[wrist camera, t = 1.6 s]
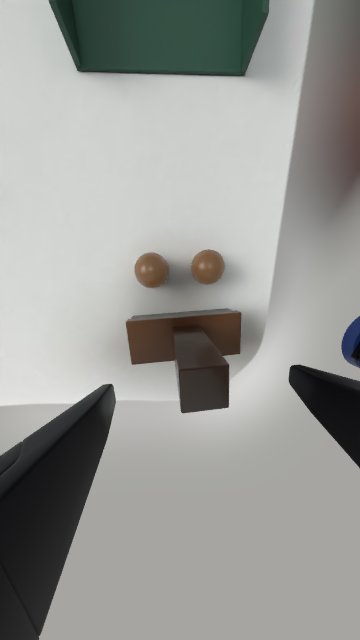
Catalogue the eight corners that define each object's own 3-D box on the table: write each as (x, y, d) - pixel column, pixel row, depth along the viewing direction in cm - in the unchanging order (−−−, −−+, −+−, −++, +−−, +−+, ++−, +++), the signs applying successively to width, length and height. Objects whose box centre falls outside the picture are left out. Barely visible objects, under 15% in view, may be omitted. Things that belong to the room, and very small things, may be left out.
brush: (228, 306, 18) (309, 340, 8) (227, 341, 19) (299, 412, 9) (132, 314, 17) (87, 362, 7) (137, 350, 18) (103, 437, 8)
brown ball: (223, 259, 16) (236, 255, 14) (211, 288, 17) (221, 290, 14) (196, 247, 16) (203, 240, 13) (184, 277, 16) (188, 276, 14)
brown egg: (173, 262, 16) (175, 258, 13) (162, 291, 17) (162, 294, 14) (143, 250, 16) (138, 243, 13) (133, 280, 16) (126, 280, 13)
